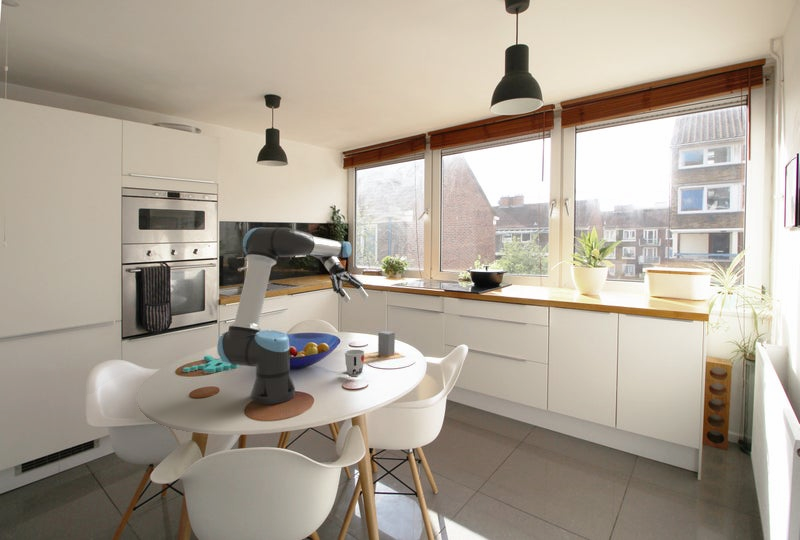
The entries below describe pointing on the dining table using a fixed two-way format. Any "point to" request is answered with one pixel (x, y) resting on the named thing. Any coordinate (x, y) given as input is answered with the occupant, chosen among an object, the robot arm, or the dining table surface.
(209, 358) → the alien figure
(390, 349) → the block
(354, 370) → the cup
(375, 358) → the oak board
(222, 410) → the dining table surface
